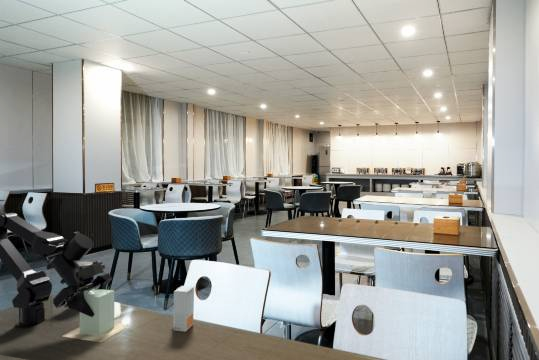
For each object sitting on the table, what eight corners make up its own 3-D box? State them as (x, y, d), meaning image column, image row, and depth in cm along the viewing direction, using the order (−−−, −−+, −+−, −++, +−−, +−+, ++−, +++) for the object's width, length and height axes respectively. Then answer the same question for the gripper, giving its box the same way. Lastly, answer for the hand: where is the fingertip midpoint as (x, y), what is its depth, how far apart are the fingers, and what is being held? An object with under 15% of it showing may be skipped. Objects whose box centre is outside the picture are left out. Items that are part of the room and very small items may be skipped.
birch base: (61, 339, 114) (61, 318, 113) (93, 323, 126) (93, 303, 126) (101, 345, 110) (101, 324, 110) (130, 328, 123) (130, 308, 122)
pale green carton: (79, 333, 116) (79, 295, 115) (95, 324, 122) (95, 288, 122) (99, 336, 114) (99, 297, 114) (114, 327, 120) (114, 290, 120)
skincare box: (186, 332, 120) (186, 292, 120) (172, 330, 121) (173, 291, 121) (194, 324, 126) (194, 286, 126) (181, 323, 127) (181, 285, 127)
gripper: (61, 259, 110) (96, 304, 107) (107, 247, 127) (137, 285, 125) (38, 285, 112) (71, 330, 109) (86, 270, 130) (115, 308, 127)
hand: (101, 311), depth 117 cm, fingers closed on pale green carton, 7 cm apart
